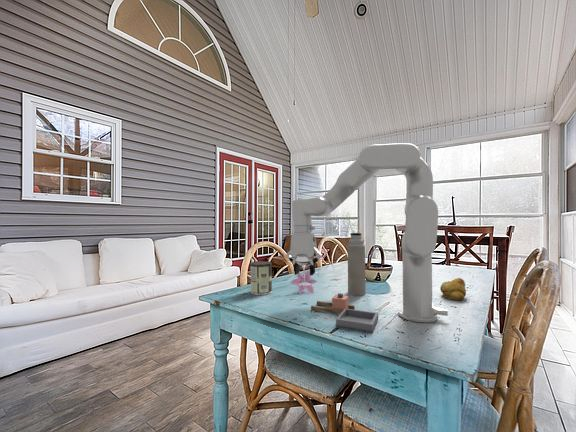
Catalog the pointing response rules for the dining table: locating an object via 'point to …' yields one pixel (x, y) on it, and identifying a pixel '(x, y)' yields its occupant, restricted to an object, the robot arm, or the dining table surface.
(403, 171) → the robot arm
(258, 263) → the coffee can
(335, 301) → the piston block
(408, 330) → the dining table surface
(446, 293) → the bread roll
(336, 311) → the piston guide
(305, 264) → the wineglass
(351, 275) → the thermos bottle
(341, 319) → the tray
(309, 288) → the lily
